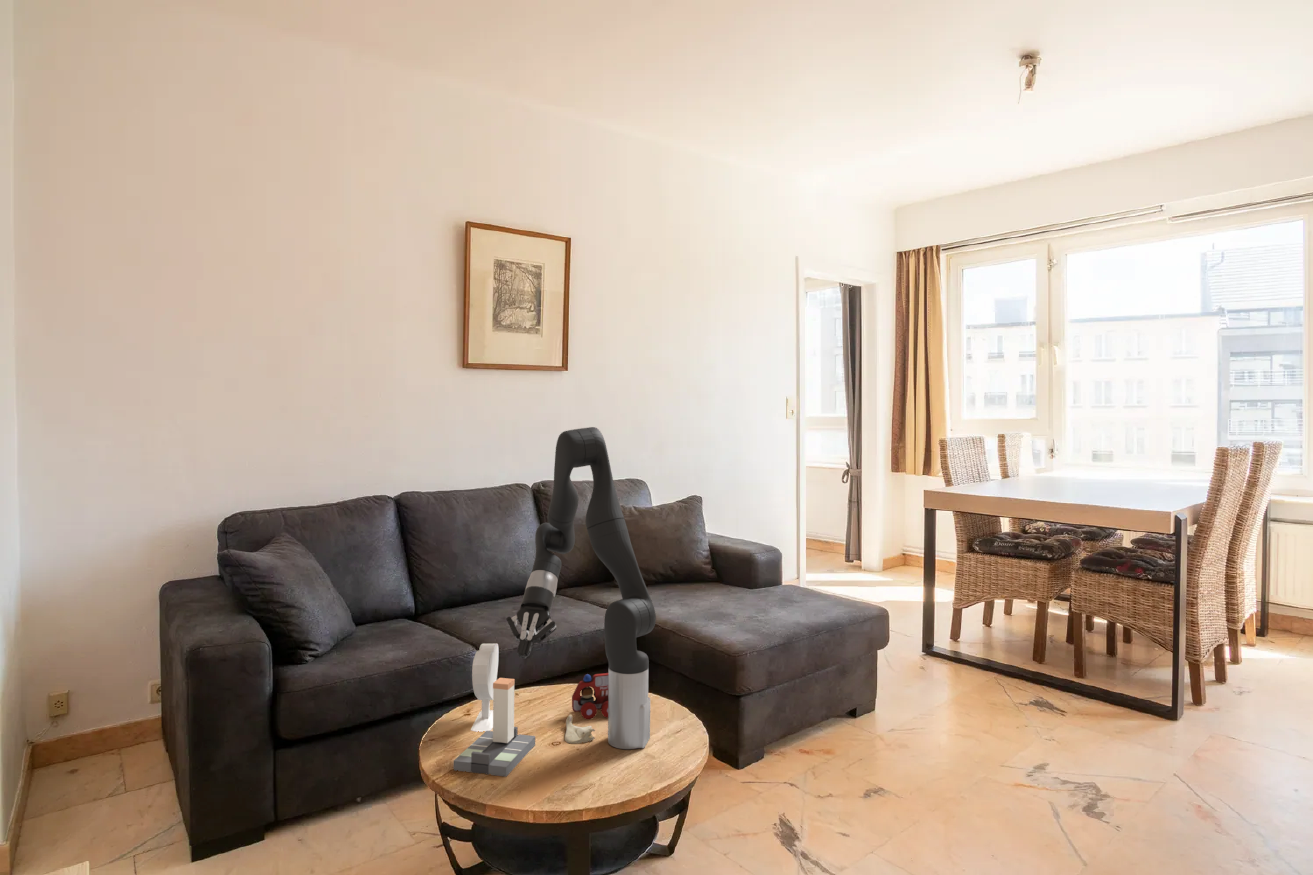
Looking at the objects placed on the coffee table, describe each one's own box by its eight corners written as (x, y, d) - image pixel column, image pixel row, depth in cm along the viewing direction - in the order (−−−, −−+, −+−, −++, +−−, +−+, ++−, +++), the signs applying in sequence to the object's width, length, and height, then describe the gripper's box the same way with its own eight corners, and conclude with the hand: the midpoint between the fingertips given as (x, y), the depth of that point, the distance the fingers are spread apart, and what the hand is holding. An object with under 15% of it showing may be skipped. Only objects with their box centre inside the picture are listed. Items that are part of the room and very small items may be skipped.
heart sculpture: (481, 708, 197) (481, 638, 197) (501, 708, 197) (501, 638, 197) (468, 733, 182) (469, 657, 181) (490, 733, 182) (490, 657, 181)
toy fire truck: (570, 710, 196) (570, 670, 196) (617, 706, 199) (618, 667, 199) (573, 721, 190) (574, 679, 189) (623, 717, 193) (623, 675, 192)
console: (535, 744, 176) (535, 727, 176) (506, 776, 160) (506, 757, 160) (486, 739, 179) (486, 722, 178) (453, 769, 163) (453, 751, 163)
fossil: (591, 725, 188) (592, 711, 188) (595, 743, 178) (595, 728, 178) (563, 726, 187) (563, 712, 187) (565, 745, 177) (565, 730, 176)
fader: (514, 736, 175) (514, 679, 174) (507, 743, 171) (508, 684, 171) (499, 734, 175) (499, 677, 175) (492, 741, 172) (492, 682, 172)
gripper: (511, 582, 192) (492, 646, 181) (563, 587, 190) (546, 652, 179) (517, 597, 198) (499, 660, 187) (567, 602, 196) (551, 666, 185)
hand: (522, 656), depth 183 cm, fingers closed
